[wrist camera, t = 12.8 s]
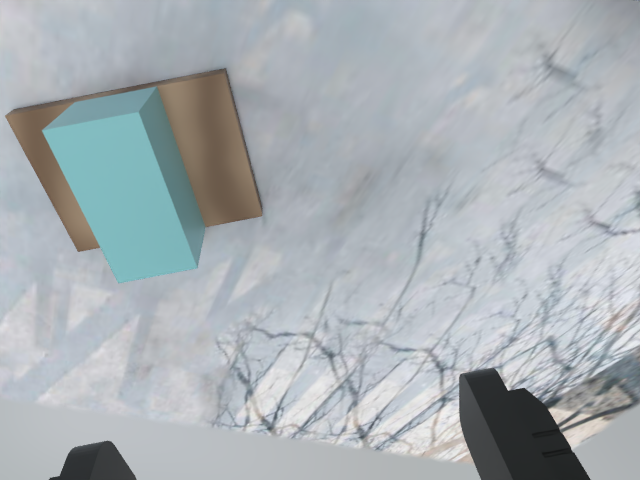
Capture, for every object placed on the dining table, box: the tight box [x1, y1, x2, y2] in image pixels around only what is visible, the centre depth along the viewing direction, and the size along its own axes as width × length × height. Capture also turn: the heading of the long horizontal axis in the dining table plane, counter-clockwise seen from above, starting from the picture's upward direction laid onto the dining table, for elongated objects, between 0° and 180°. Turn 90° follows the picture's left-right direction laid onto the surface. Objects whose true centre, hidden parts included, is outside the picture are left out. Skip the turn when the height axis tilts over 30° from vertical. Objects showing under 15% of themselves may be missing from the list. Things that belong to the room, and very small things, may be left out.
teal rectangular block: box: [42, 86, 205, 283], centre depth 35 cm, size 6×12×6 cm, turn 9°
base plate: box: [5, 68, 262, 252], centre depth 36 cm, size 16×12×4 cm
